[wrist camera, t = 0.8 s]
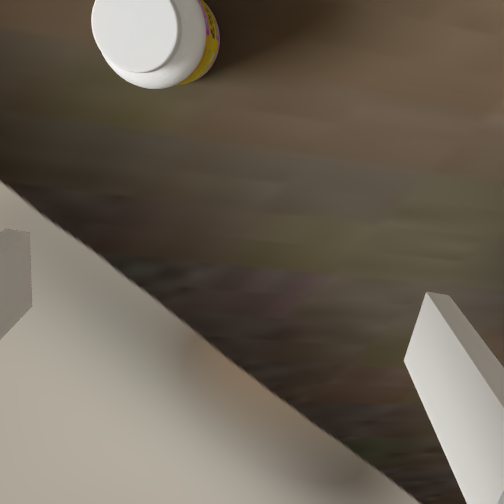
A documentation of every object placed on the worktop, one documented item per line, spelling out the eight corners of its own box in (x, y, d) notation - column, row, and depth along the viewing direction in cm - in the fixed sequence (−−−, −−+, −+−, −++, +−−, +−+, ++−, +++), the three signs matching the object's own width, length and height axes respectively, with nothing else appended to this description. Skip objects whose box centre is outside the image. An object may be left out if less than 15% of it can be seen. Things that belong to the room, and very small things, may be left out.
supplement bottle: (238, 44, 37) (223, 36, 25) (176, 101, 39) (135, 118, 27) (180, -31, 35) (135, -78, 23) (118, 31, 37) (46, 17, 25)
